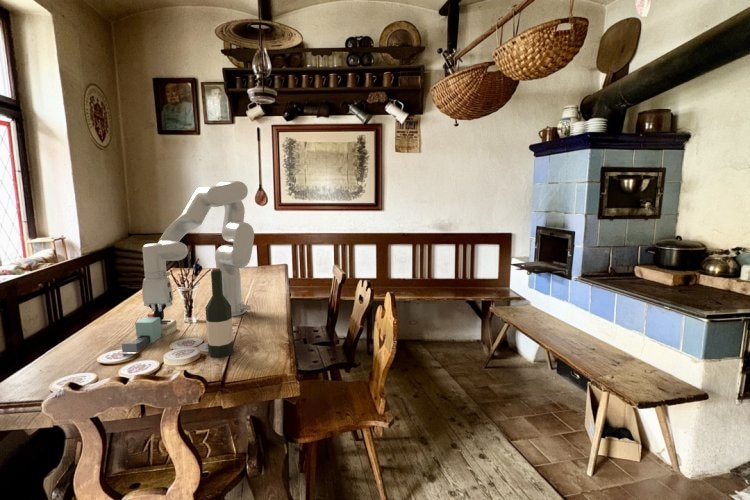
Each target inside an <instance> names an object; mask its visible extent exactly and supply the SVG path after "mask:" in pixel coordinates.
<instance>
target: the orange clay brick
mask: <svg viewBox="0 0 750 500" xmlns="http://www.w3.org/2000/svg"><path fill="white" fill-rule="evenodd" d="M147 317H154V312H151V313H148V314H147Z"/></svg>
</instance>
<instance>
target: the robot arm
mask: <svg viewBox="0 0 750 500" xmlns="http://www.w3.org/2000/svg"><path fill="white" fill-rule="evenodd" d="M248 194H249V190H248V187H247V185H246V183H244V182H243V181H240V180H239V181H238V180H223V181H220V182H218V183H216V185H214V186H213V185H212V186H210V185H209V186H208V185H207V186H199V187H197V188H196V190H195V191H194V192H193V194H192V196H191V197H190V199H189V201H188V202H187V204H186V206H185V208H184V209H183V211H182V212H181V214H180V215H179V216H178V217H177V218H176V219H175V220H174V221H173V222H172V223H171V224H169V225H168V227H167V228H166V229H165V230H164V231H163V234H161V237H160V238H159V239H158V242H152V243H146V244H144V245H143V246H142V261H143V269H144V270H143V271H144V272H143V273H144V278H143V280H142V286H141V287H142V291H141V294H142V302H143V306H144V307H148V308H150V309H151V310H152V313H154V317H160V321H161V320H164V317H165V313H164V311H165V310H166V308H167V307H171V306H173V301H174V294H173V292H174V291H173V287H172V286H173V285H172V282H171V280H170V279H171V278H170V277H168V276H170V274H171V272H170V271H168V270H167V264H166V263H167V262H166V261H181V260H184V259H185V258H186V257H187V255H188V253H189V248H188V246H187V245H186V244H185V243H183V242H182V241H181V240H182V238H184V237H185V235H187V234H188V233H190V232H191V231H193V230H196V229H198V228H199V227H201V225H203V223H204V221H205V219H206V217H207V215H208V213H209V211H210V210H211V208H212V207H213V208H219V207H224V216H223V221H222V229H221V237H222V239H223V240H224V241H226V242H230V243H233V244H224V245H221V246H219V247H218V248H216V250H215V253H214V260H215V264H216V268H220V270H221V271H222V287H223V296H224V297H225V298H226V300H227V301H228V302H229V304H230V305H231V312H232V317H237V316H241V315H243V314H245V313H246V312H247V311H248V310H249V311H251V309H252V306H251V304H245V303H244V302H245V301H242V300H243V299H242V279H241V278H242V277H241V271H240V269H244V268H245V267H247V266H249V264H250V261H251V260H252V259H251V258H252V254H253V253H252V252H253V248H254V241H255V240H254V239H255V231H254V228H253V226H252V225H251V224H250V223H248V222H245V213H246V211H245V209H246V208H245V205H244V204H243V200H245V199H246V198H247V196H248ZM180 241H181V242H180ZM246 310H247V311H246Z"/></svg>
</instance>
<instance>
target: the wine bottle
mask: <svg viewBox="0 0 750 500" xmlns="http://www.w3.org/2000/svg"><path fill="white" fill-rule="evenodd" d="M210 277H211V280H210V281H211V292H212V293H211V297H210V299H209V301H208V302H207V305H206V306H205V321H206V338H207V350H208V351H207V352H208V354H207V355H208V356H209V357H210V358H214V359H215V358H218V359H219V358H223V357H224V358H225V357H228V356H229V357H230V356H231V355H232V354H233V353H234V352H235V351H234V350H235V349H234V333H233V331H234V330H233V316H232V312H231V305H230V304H229V302H228V301H227V300H226V298H225V297H224V296H223V287H222V271H221V270H220V268H217V267H216V268H215V267H213V268H212V269H211V271H210Z"/></svg>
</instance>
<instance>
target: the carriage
mask: <svg viewBox="0 0 750 500" xmlns="http://www.w3.org/2000/svg"><path fill="white" fill-rule="evenodd" d="M134 326H135V335H136V339H137V338H139V337H140V336H150V344H152V343H153V344H154V343H155V342H156V341H157V340H159V339H160V338H161V337H162V336H161V332H160V330H161V323H160V317H148V316H147V317H146V316H145V317H143V318H141V319H139V320H137V321H136V322H135V323H134Z"/></svg>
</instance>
